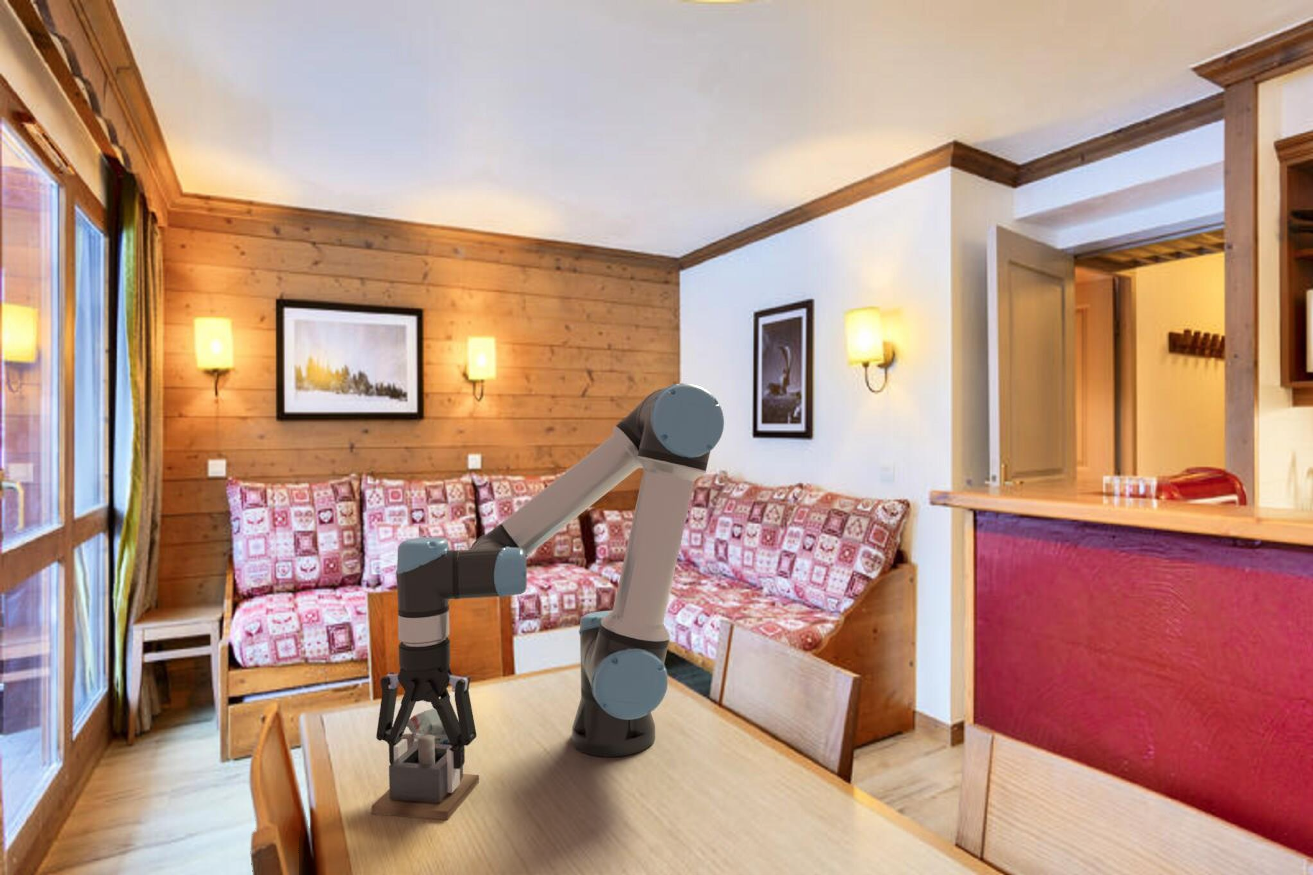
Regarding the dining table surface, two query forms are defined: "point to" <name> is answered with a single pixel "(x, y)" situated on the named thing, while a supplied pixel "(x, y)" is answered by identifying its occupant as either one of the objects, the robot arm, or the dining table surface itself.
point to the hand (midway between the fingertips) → (427, 786)
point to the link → (420, 776)
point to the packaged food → (427, 726)
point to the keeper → (426, 808)
